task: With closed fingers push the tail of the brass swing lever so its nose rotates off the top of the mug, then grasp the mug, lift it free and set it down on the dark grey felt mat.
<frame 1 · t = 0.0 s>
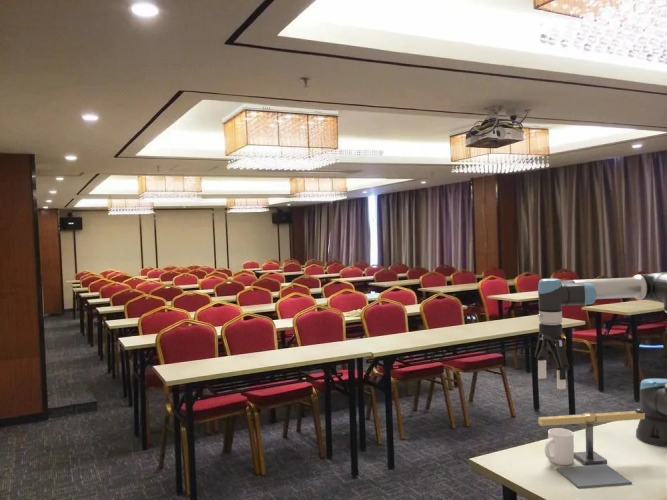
hand: (551, 383, 193), 28 cm above the table, fingers open, 13 cm apart
felt mat: (592, 476, 182), on the table
mug: (557, 462, 194), on the table
lever post: (589, 460, 195), on the table
lever: (592, 416, 194), point 15 cm above the table, hinge at 0.0°
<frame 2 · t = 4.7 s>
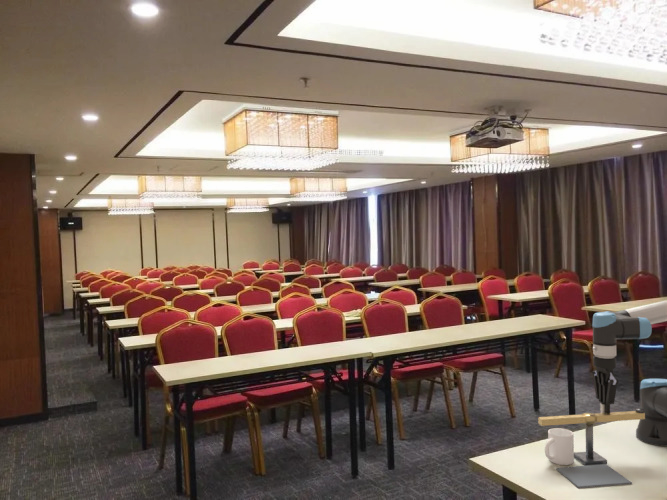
hand: (605, 421, 198), 13 cm above the table, fingers closed
lever: (592, 416, 194), point 15 cm above the table, hinge at -0.1°, touching gripper
everything else where it was.
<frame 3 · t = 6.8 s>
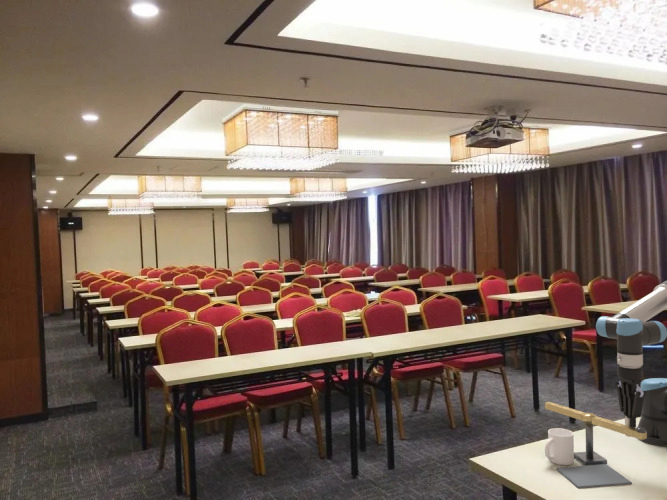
hand: (630, 435, 184), 12 cm above the table, fingers closed
lever: (592, 418, 193), point 15 cm above the table, hinge at -67.0°, touching gripper
everything else where it was.
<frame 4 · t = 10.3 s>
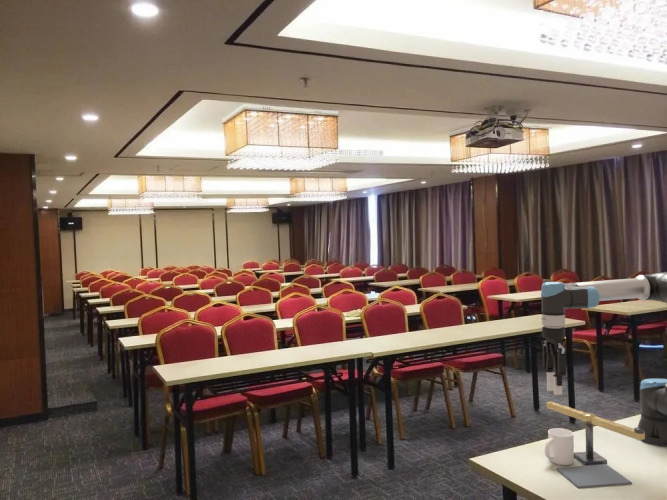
hand: (554, 392, 194), 25 cm above the table, fingers open, 4 cm apart
lever: (591, 418, 193), point 15 cm above the table, hinge at -69.9°
everything else where it was.
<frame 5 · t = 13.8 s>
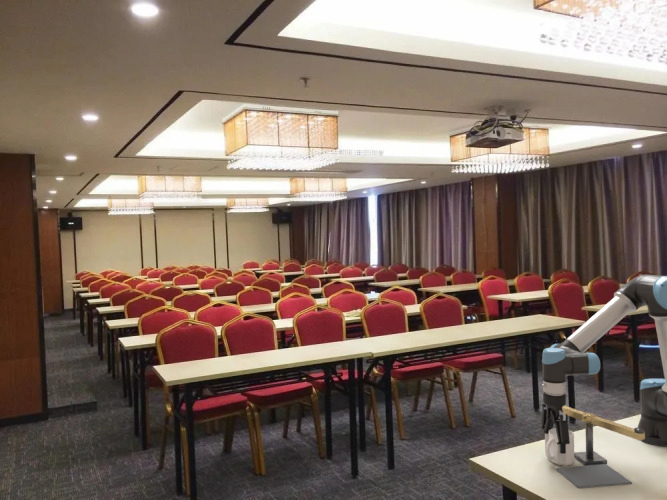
hand: (555, 456, 195), 2 cm above the table, fingers closed on mug, 8 cm apart
mug: (557, 462, 194), on the table, touching gripper
everything else where it was.
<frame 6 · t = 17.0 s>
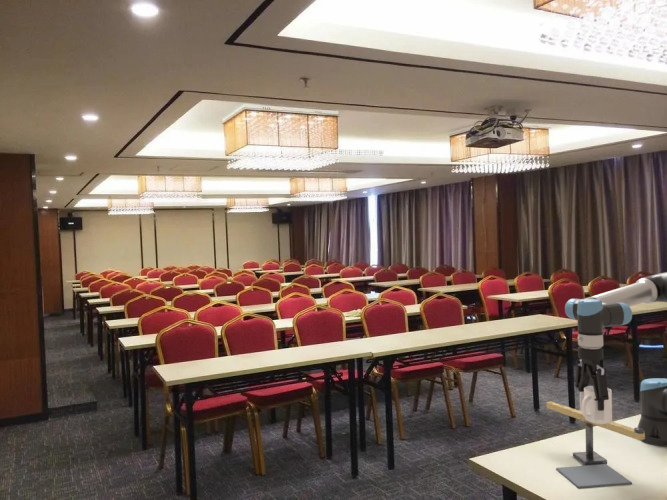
hand: (591, 415, 181), 20 cm above the table, fingers closed on mug, 8 cm apart
mug: (594, 421, 181), point 18 cm above the table, touching gripper
everything else where it was.
when the fingers open (4 cm above the table, at t = 20.4 s): mug drops 1 cm, resting on felt mat.
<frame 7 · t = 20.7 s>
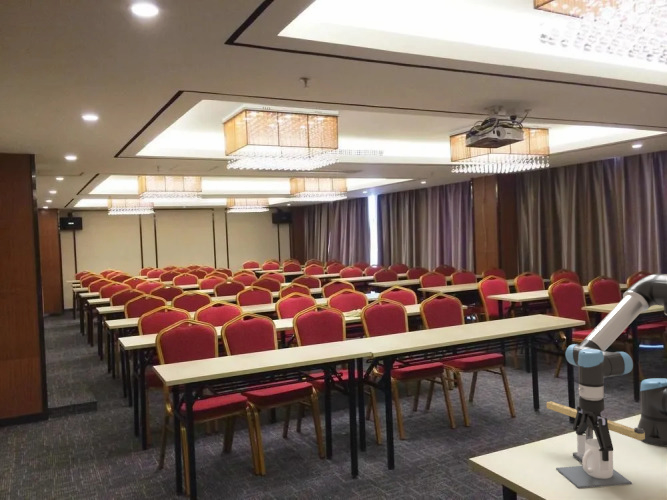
hand: (592, 461, 182), 5 cm above the table, fingers open, 12 cm apart
mug: (595, 475, 182), resting on felt mat
everything else where it was.
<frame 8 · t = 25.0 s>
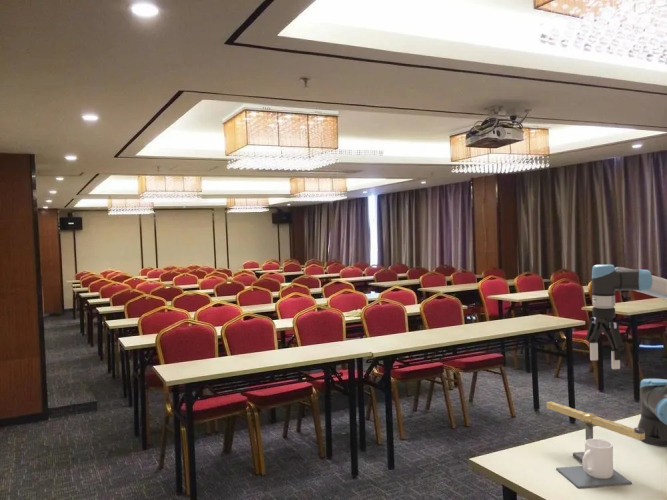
hand: (604, 364, 203), 32 cm above the table, fingers open, 13 cm apart
nothing on the table moved.
at the end: lever at -70° (first picture: +0°); mug inside the target area on the felt mat (0.8 cm from its centre), point 0.4 cm above the felt mat's base; mug tilted 0° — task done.
